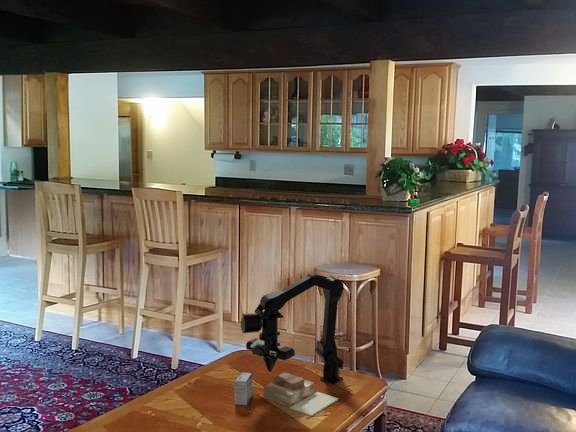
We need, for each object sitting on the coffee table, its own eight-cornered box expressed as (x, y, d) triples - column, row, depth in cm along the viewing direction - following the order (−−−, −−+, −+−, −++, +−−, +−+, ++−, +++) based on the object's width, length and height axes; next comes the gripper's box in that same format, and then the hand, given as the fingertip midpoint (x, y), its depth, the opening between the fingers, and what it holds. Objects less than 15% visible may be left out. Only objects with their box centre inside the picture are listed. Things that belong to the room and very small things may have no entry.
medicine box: (246, 405, 206) (246, 381, 205) (234, 404, 207) (234, 380, 206) (252, 396, 214) (252, 372, 213) (240, 395, 215) (240, 371, 214)
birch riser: (288, 384, 224) (288, 374, 223) (314, 393, 216) (314, 382, 216) (263, 397, 213) (263, 386, 212) (290, 407, 206) (290, 395, 205)
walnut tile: (273, 384, 215) (274, 377, 214) (284, 378, 219) (284, 372, 219) (293, 390, 209) (293, 384, 209) (304, 385, 214) (304, 378, 213)
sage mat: (317, 393, 217) (317, 391, 217) (338, 399, 211) (338, 398, 211) (290, 408, 204) (290, 407, 204) (311, 416, 199) (311, 414, 199)
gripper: (235, 330, 217) (236, 371, 219) (275, 341, 205) (275, 385, 207) (256, 322, 225) (256, 362, 227) (295, 333, 214) (295, 375, 216)
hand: (270, 371), depth 219 cm, fingers closed
